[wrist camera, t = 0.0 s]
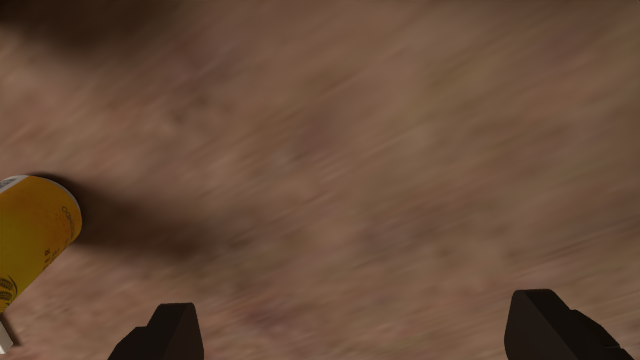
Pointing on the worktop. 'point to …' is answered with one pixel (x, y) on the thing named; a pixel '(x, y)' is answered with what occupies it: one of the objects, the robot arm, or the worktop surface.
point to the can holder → (4, 340)
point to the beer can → (32, 230)
